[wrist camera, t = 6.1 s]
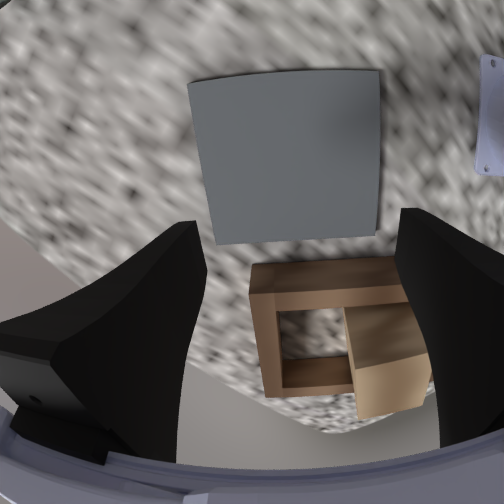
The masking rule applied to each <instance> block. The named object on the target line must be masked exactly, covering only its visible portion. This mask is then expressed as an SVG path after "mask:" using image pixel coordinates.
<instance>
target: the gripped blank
mask: <svg viewBox="0 0 504 504" xmlns="http://www.w3.org/2000/svg"><path fill="white" fill-rule="evenodd" d="M342 309H343V316H344V324H345V332H346V340H347V349H348V355H349V361H350V367H351V374H352V380H353V387H354V394H355V401H356V408H357V415H358V420H361V419H366V418H371V417H376V416H381V415H386V414H390V413H394V412H398V411H402V410H406V409H410V408H415V407H418V406H422V404H423V401H424V398H425V394H426V391H427V387H428V383H429V380H430V376H431V372H432V369H431V364H430V360H429V356H428V352H427V348H426V344H425V341H424V338H423V335H422V332H421V330H420V327H419V325H418V322H417V320H416V318H415V315H414V313H413V310H412V308H411V306H410V303H409V302H399V303H388V304H378V305H366V306H354V307H342Z"/></svg>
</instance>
